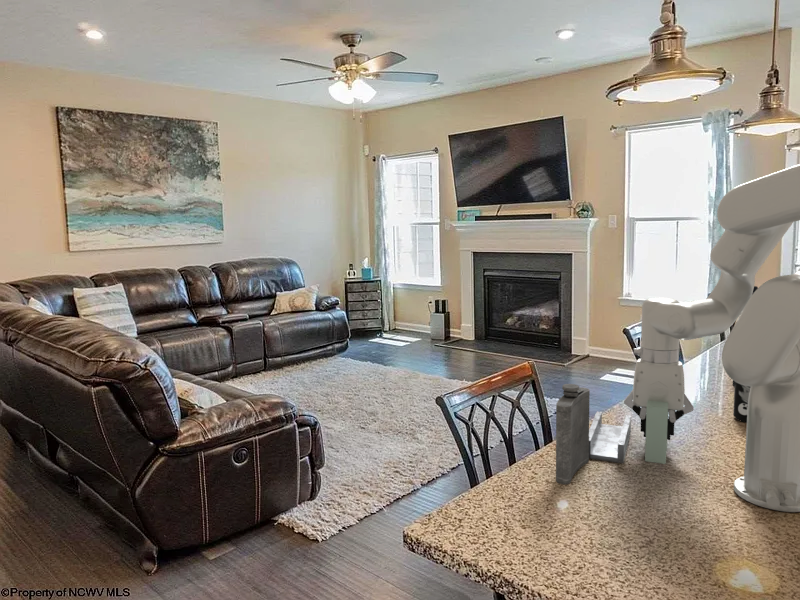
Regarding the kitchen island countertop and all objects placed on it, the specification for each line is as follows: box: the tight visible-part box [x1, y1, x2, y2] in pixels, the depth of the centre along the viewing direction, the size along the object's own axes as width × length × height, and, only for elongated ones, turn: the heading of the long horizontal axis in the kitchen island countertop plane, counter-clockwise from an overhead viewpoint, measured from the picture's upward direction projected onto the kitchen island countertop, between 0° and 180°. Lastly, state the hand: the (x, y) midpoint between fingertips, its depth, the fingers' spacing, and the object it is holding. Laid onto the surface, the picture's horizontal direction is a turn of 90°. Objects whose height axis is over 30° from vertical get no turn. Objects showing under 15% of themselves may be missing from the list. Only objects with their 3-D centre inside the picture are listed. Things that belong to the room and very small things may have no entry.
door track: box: [589, 411, 632, 464], centre depth 131 cm, size 20×8×4 cm, turn 154°
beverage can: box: [733, 382, 751, 424], centre depth 144 cm, size 7×7×12 cm
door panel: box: [644, 401, 669, 465], centre depth 126 cm, size 14×4×12 cm, turn 154°
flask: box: [555, 383, 591, 485], centre depth 117 cm, size 4×14×18 cm, turn 145°
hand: (657, 435), depth 127 cm, fingers closed on door panel, 4 cm apart
